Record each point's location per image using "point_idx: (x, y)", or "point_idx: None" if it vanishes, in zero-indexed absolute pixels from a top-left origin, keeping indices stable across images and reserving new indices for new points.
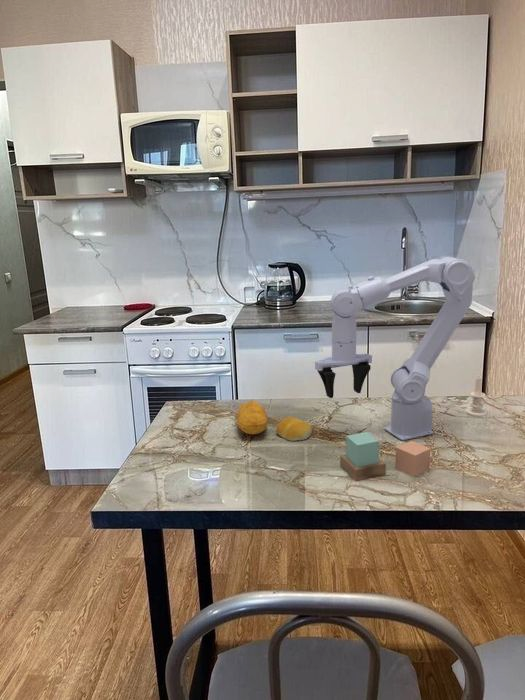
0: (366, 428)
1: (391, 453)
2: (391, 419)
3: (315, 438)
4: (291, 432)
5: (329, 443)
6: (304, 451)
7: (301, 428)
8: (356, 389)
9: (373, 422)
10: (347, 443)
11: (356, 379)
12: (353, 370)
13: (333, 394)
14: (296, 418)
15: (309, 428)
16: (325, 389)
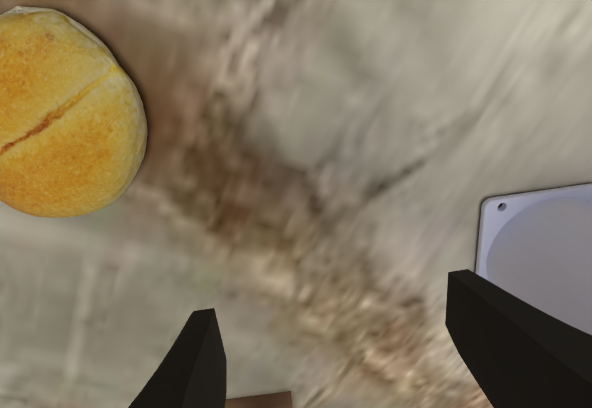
0: (423, 166)
1: (383, 369)
2: (523, 266)
3: (154, 196)
4: (7, 204)
5: (203, 256)
6: (79, 293)
7: (61, 209)
8: (457, 318)
9: (493, 112)
10: None
11: (512, 375)
12: (585, 395)
13: (225, 391)
14: (42, 73)
15: (115, 191)
16: (174, 346)
